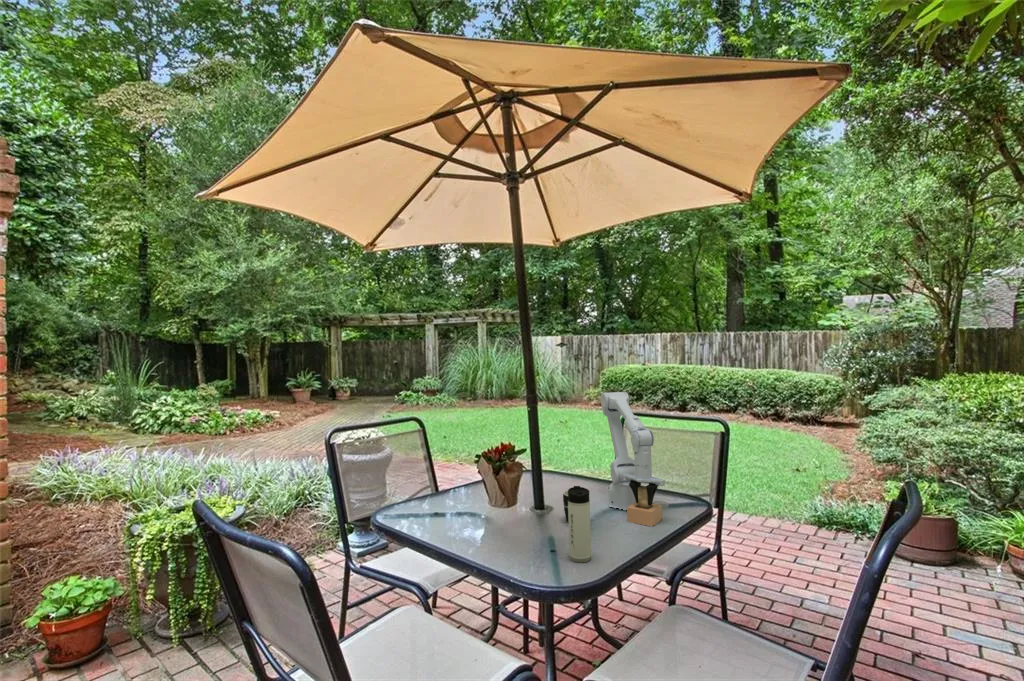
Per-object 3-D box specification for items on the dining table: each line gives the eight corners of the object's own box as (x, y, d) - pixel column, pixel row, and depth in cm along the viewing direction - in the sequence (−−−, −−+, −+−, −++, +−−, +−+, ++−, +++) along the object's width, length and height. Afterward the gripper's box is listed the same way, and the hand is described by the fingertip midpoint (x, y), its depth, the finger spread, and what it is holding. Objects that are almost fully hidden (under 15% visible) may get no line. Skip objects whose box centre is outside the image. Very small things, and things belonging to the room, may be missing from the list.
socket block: (627, 521, 171) (626, 507, 171) (637, 514, 178) (637, 500, 178) (651, 527, 165) (651, 512, 165) (662, 519, 172) (661, 505, 172)
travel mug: (588, 552, 146) (586, 485, 146) (593, 562, 139) (591, 491, 139) (567, 553, 145) (566, 486, 146) (571, 563, 139) (569, 492, 139)
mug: (559, 519, 175) (559, 490, 175) (583, 516, 177) (582, 488, 177) (573, 531, 163) (572, 500, 163) (597, 527, 166) (596, 497, 166)
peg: (636, 511, 171) (635, 488, 171) (641, 507, 174) (640, 485, 174) (647, 513, 169) (646, 490, 169) (652, 510, 172) (651, 487, 172)
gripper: (618, 464, 173) (619, 502, 173) (658, 469, 164) (659, 510, 164) (627, 460, 179) (628, 497, 178) (666, 465, 170) (667, 504, 169)
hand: (644, 503), depth 172 cm, fingers closed on peg, 4 cm apart
